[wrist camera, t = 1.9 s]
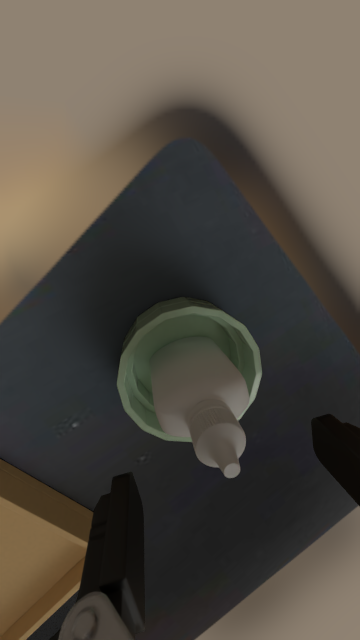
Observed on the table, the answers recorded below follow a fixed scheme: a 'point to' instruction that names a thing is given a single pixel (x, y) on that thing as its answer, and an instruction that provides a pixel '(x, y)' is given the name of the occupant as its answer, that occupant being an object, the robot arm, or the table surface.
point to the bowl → (171, 325)
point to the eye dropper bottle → (201, 400)
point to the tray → (37, 551)
